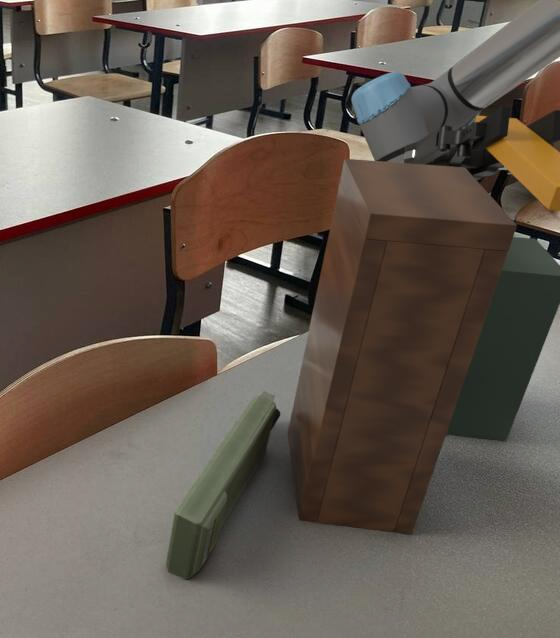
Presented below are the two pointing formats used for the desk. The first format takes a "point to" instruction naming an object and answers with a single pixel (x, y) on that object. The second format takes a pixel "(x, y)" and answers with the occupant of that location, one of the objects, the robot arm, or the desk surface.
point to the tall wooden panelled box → (391, 338)
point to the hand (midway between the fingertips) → (531, 123)
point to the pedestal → (509, 342)
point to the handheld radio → (219, 487)
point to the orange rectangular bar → (530, 162)
